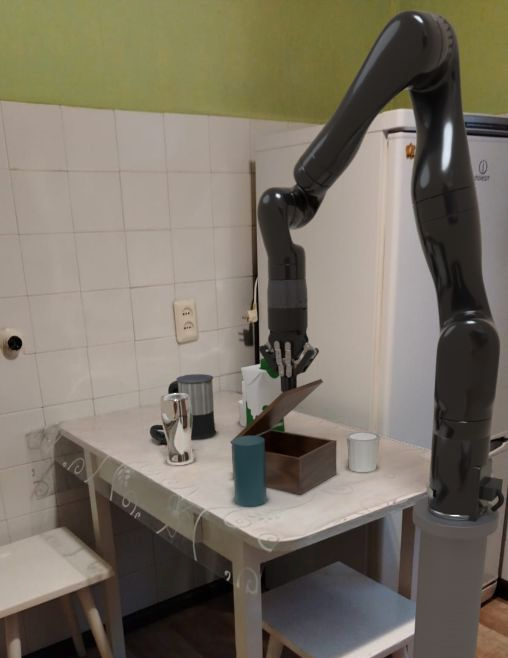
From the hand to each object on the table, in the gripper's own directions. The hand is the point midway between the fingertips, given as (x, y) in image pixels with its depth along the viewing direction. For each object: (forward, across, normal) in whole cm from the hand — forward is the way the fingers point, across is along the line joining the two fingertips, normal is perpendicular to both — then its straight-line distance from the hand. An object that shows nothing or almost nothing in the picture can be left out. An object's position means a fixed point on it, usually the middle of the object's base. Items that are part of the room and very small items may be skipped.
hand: (289, 394), depth 126 cm
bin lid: (+4, -3, 0) cm, 5 cm away
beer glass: (+18, -27, -4) cm, 33 cm away
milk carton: (+18, -20, +19) cm, 33 cm away
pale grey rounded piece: (+18, -32, +30) cm, 47 cm away
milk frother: (+18, -40, +10) cm, 44 cm away
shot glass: (+18, +10, +13) cm, 24 cm away
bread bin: (+18, -1, 0) cm, 18 cm away
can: (+18, 0, -14) cm, 22 cm away
